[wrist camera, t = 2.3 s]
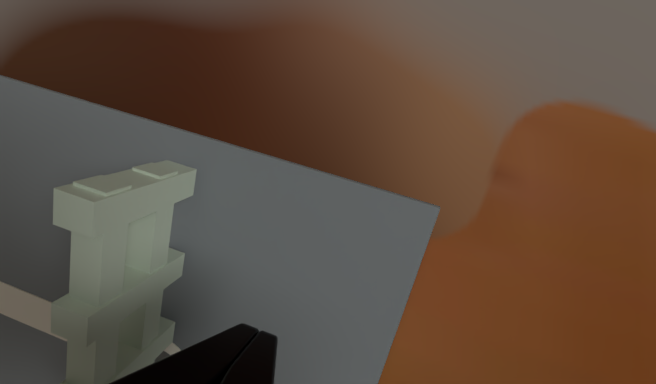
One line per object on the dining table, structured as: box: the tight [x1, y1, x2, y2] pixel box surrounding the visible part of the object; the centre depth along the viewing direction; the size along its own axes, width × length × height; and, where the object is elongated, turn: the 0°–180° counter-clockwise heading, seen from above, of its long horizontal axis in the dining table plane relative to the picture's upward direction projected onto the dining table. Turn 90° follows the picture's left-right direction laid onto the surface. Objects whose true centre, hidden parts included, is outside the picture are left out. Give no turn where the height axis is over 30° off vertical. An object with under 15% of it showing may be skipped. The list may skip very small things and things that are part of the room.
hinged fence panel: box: [51, 160, 197, 384], centre depth 12 cm, size 8×1×4 cm, turn 166°
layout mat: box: [0, 75, 440, 384], centre depth 16 cm, size 22×17×1 cm
